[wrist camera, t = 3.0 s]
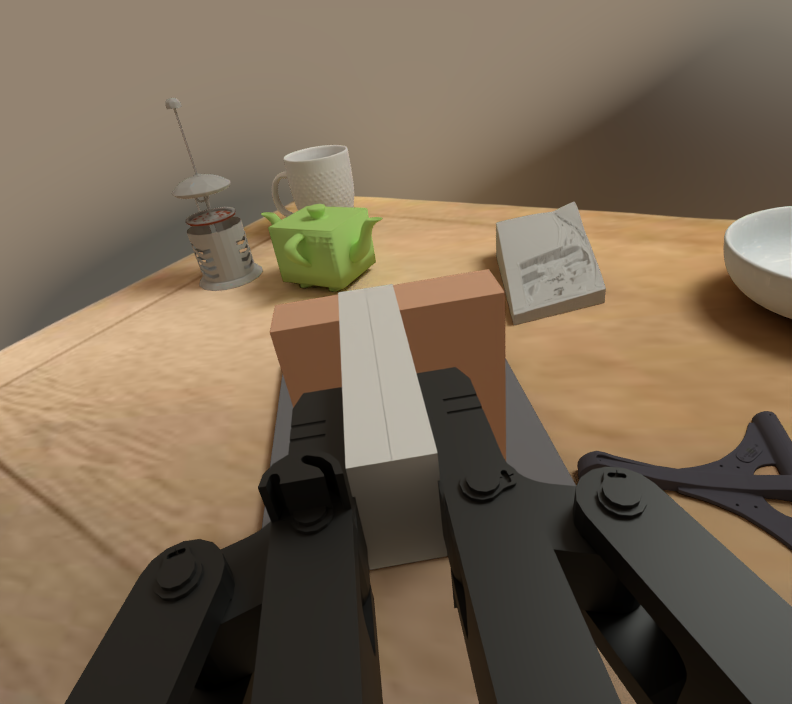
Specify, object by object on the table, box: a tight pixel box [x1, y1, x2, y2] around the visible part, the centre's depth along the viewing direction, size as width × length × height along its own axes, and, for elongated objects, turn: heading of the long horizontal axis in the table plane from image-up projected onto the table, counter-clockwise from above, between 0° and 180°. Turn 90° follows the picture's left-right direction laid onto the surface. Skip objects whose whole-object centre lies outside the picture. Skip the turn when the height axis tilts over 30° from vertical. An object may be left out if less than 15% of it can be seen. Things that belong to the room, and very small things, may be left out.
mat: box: [262, 358, 576, 570], centre depth 43 cm, size 22×26×1 cm
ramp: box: [496, 202, 606, 325], centre depth 63 cm, size 28×16×5 cm, turn 154°
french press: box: [166, 98, 263, 291], centre depth 71 cm, size 10×12×25 cm
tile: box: [270, 269, 506, 460], centre depth 31 cm, size 12×3×16 cm, turn 97°
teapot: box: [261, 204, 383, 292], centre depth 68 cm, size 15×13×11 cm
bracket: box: [577, 411, 792, 550], centre depth 34 cm, size 14×15×3 cm
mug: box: [272, 145, 354, 217], centre depth 87 cm, size 15×11×13 cm
